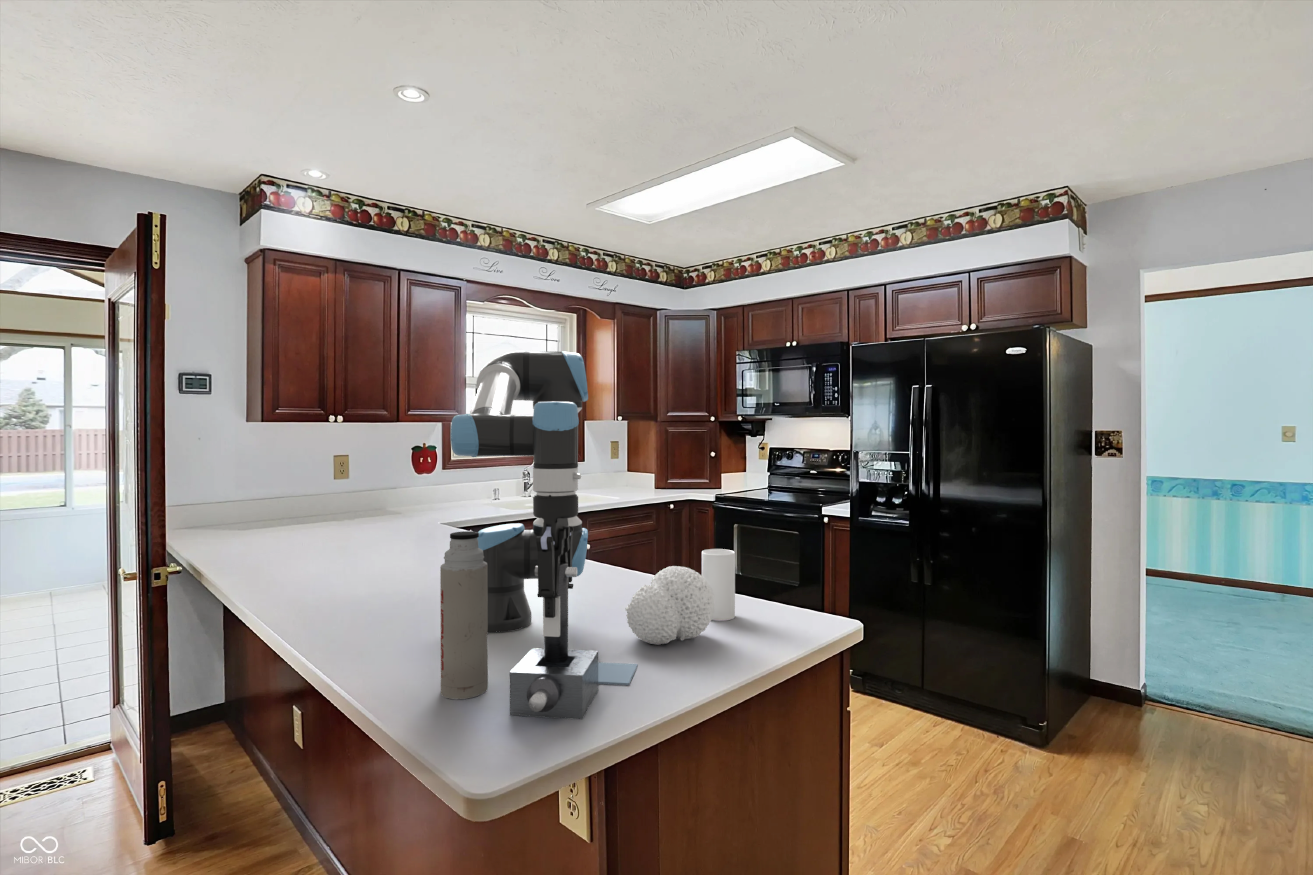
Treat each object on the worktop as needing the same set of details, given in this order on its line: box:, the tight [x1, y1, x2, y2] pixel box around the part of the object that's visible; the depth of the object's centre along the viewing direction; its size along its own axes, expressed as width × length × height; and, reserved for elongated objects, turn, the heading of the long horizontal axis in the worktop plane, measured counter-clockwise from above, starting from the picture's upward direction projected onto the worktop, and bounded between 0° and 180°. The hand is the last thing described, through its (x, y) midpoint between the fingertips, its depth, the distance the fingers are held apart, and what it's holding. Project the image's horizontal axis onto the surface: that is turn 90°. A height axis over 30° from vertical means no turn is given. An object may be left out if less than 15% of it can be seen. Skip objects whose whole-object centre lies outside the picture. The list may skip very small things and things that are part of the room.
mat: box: [598, 661, 638, 686], centre depth 126 cm, size 10×10×1 cm
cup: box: [701, 548, 736, 622], centre depth 165 cm, size 8×8×16 cm
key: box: [535, 562, 578, 663], centre depth 113 cm, size 7×4×16 cm, turn 81°
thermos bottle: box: [439, 530, 489, 700], centre depth 118 cm, size 8×8×28 cm
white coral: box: [625, 565, 714, 646], centre depth 147 cm, size 20×18×16 cm
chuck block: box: [509, 647, 599, 720], centre depth 110 cm, size 12×17×7 cm
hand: (555, 631), depth 113 cm, fingers closed on key, 4 cm apart
